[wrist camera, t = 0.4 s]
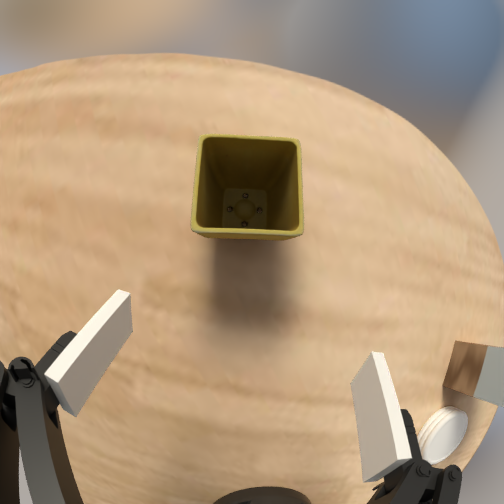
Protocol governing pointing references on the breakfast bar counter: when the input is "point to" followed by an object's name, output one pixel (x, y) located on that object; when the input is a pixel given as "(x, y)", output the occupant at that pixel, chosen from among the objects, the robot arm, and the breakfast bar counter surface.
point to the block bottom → (465, 367)
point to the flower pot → (248, 187)
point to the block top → (492, 377)
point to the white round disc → (442, 434)
